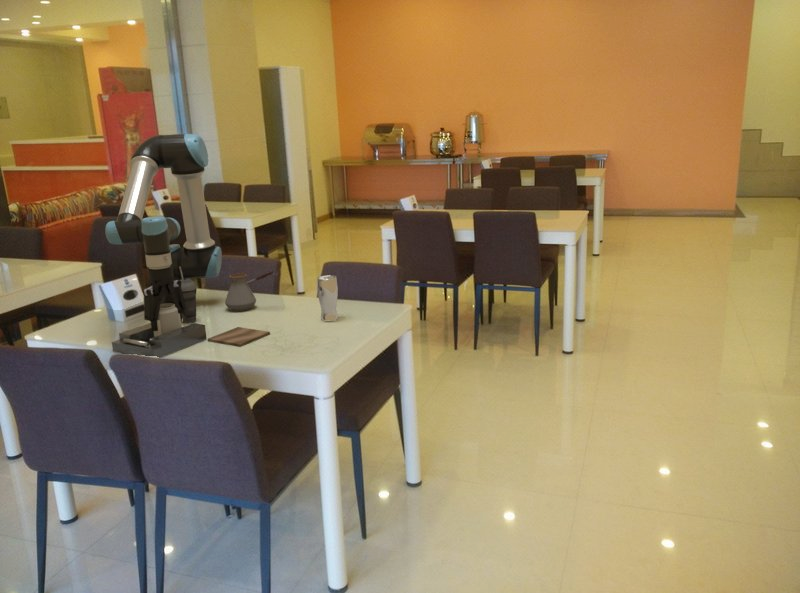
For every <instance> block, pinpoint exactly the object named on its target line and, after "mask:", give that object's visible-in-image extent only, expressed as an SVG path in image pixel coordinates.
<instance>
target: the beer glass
mask: <svg viewBox="0 0 800 593" xmlns="http://www.w3.org/2000/svg"><path fill="white" fill-rule="evenodd" d="M316 278H317V282H316V283H317V284H316V288H317V289H316V290H317V296H318V297H317V298H318V301H319V304H320V308H321V309H320V311H321V313H320V321H321V322H324V321H332V322H335V321H334V320H336V321H338V320H339V315H338V310H337V306H338V304H337V303H338V296H339V295H338V293H339V290H338V282H337V281H338V279H337V276H336V275H333V274H332V275H330V274H329V275H328V274H327V275H326V274H325V275H320V276H318V277H316ZM337 319H338V320H337Z"/></svg>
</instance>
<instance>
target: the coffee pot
mask: <svg viewBox="0 0 800 593" xmlns="http://www.w3.org/2000/svg"><path fill="white" fill-rule="evenodd" d="M276 273H278V271H277V270H275V269H274V270H272V271H268V272H266V273H263V274H261V275H259V276H257V277H255V278H253V279H250V280H248V281H247V280H246V278H247V276H248V274H246V273H234V274H230V275H229V278H230V281H231V282H230V286H229V288H228V291H227V295H226V298H225V301H224V304H225V306H226V307H227V308H228V309H229V310H230V311H231V312H245V311H250V310H251V309H253V307H254V306H255V305H256V302H257V298H256V296H255V294H254V293H253V291H252V289H251V288H250V285H249V284H252V283H253V282H256V281H259V280H261V279H264V278H266V277H268V276H271V275H272V274H273V275H275V276H278V274H276Z"/></svg>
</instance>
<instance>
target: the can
mask: <svg viewBox="0 0 800 593" xmlns="http://www.w3.org/2000/svg"><path fill="white" fill-rule="evenodd" d="M158 320H160V325H161V332H162V334H164V333H167V332H170V331H173V330H176V329H179V328H180V324H179V316H178V309H177V308H176V307H175V304H173V303H165V304H160V309H159V314H158Z"/></svg>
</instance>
